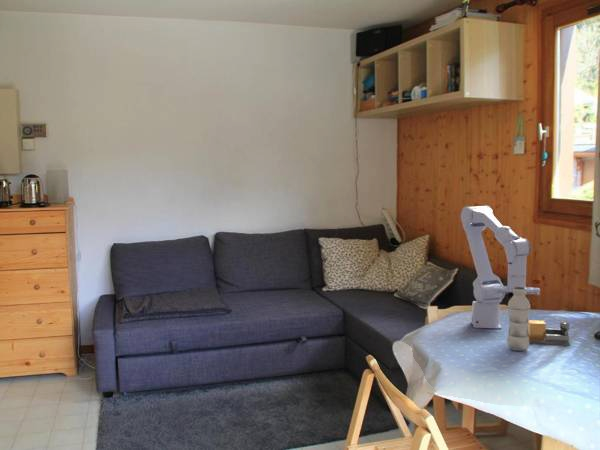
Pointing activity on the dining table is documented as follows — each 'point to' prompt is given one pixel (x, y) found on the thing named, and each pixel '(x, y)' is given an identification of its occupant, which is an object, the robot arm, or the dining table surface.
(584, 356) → the dining table surface
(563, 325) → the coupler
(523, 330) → the plastic bottle
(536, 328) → the block
